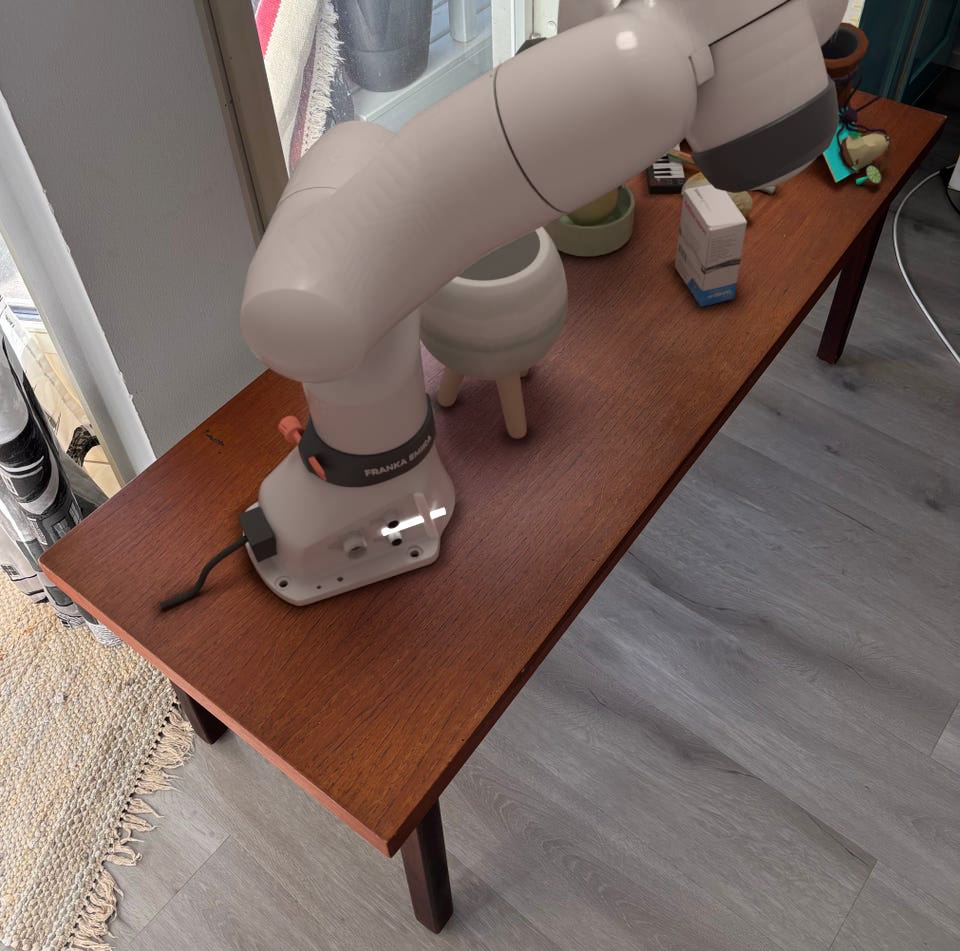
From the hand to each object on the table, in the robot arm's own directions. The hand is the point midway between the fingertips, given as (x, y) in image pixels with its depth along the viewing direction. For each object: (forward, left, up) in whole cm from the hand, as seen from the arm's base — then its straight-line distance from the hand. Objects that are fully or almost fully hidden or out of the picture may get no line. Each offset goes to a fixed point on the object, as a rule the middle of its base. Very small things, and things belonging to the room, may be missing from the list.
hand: (589, 199), depth 127 cm
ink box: (+6, -17, -5) cm, 19 cm away
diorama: (+38, -7, -1) cm, 39 cm away
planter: (-27, -20, -5) cm, 34 cm away
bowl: (0, 0, -5) cm, 5 cm away
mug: (+37, -1, -5) cm, 37 cm away
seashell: (+16, -6, -5) cm, 18 cm away
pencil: (+17, +8, -3) cm, 19 cm away
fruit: (0, 0, -3) cm, 3 cm away
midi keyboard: (+21, +7, -5) cm, 23 cm away
